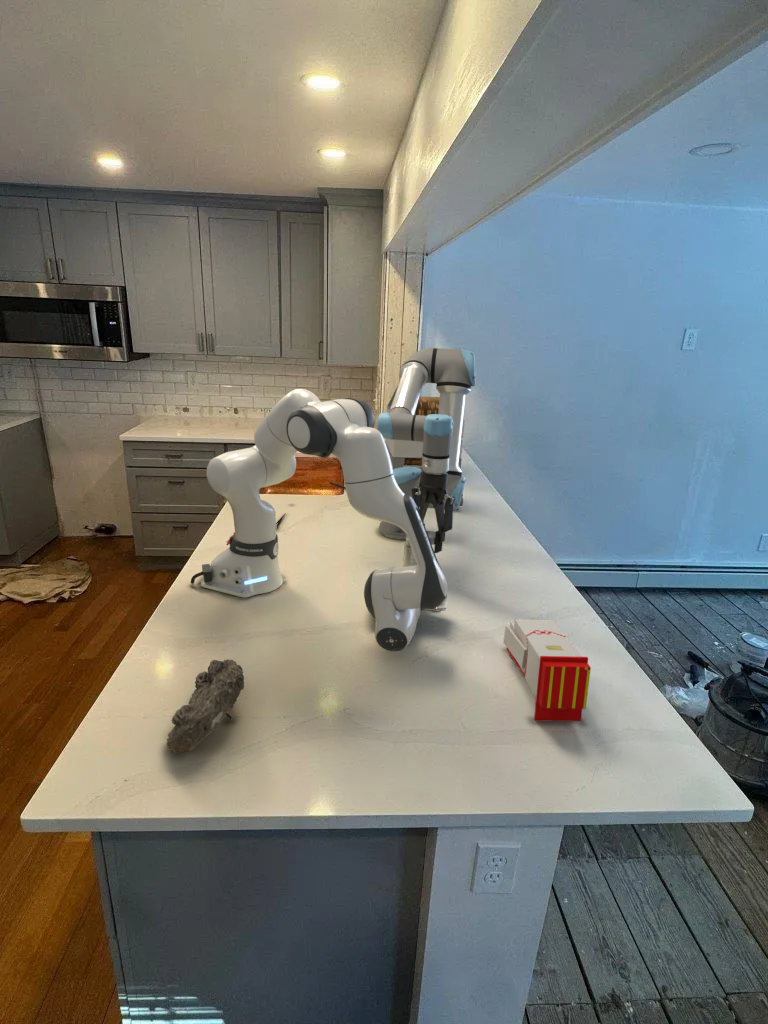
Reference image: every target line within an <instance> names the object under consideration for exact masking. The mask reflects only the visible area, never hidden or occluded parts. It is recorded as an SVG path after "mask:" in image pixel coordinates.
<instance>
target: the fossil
mask: <svg viewBox="0 0 768 1024" xmlns="http://www.w3.org/2000/svg"><path fill="white" fill-rule="evenodd" d="M243 670H244V669H243V667H242V665H240V664H237V662H236V661H235V660H234V659H232V658H231V659H227V658H226V659H224V660H223V661H222V660H217V659H212V660H211V661H210V663H209V665H208V666H207V671H201V672H199V673H198V674H197V675H196V676H195V680H194V684H195V685H194V687H195V689H194V690H193V693H192V694H191V697H190V698H189V700H188V704H184V705H182V706H181V707H180V709H177V710H176V711H175V713H174V715H173V716H172V718H171V723H172V724H173V727H172V730H171V731H170V732H168V734H167V738H166V741H167V742H166V745H167V749H168V750H169V751H173V752H174V753H176V754H178V753H182V752H188V751H189V752H192V751H193V750H195V748H196V747H197V746H199V744H200V743H201V742H203V741H204V740H205V739H206V738H207V737H208V736H209V735H210V734H211V733H212V732H214V730H215V729H217V727H218V726H219V724H220V722H221V721H222V720H223V719H224V718H225V716H226V717H227V719H229V720H233V717H232V715H230V714H229V710H230V709H231V708H234V706H235V704H236V703H237V702H238V699H239V697H240V695H241V693H242V691H243V690H245V689H244V688H245V675H244V671H243Z"/></svg>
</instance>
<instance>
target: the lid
mask: <svg viewBox="0 0 768 1024" xmlns="http://www.w3.org/2000/svg"><path fill="white" fill-rule="evenodd" d="M427 533H428V536H429V539H430V542H431V544H432V546H435V536H436V531H435V530H427Z"/></svg>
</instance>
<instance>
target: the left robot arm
mask: <svg viewBox="0 0 768 1024" xmlns="http://www.w3.org/2000/svg"><path fill="white" fill-rule="evenodd" d="M375 420H376V419H375V414H374V412H373V409H372V408H371V406H370V405H369V403H368V402H366V401H364V400H363V399H361V398H355V397H343V398H340V399H339V398H338V399H337V398H336V399H335V398H334V399H328V400H325V401H321V400H320V398H319V397H318V396H317V395H316V394H315V393H314V392H313V391H311V390H309V389H305V388H295V389H292V390H290V391H289V392H288V393H286V394H285V395H284V396H282V398H280V399H279V400H278V402H276V403H275V405H274V406H273V407H271V409H270V410H269V412H268V413H267V414H266V416H265V417H264V418H263V420H262V421H261V422H260V423H259V425H258V426H257V427H256V429H255V431H254V434H253V438H254V445H253V446H249V447H246V448H241V449H236V450H230V451H226V452H224V453H221V454H219V455H217V456H215V457H212V458H211V459H210V460H209V462H208V464H207V466H206V479H207V483H208V484H209V486H210V488H211V489H212V490H213V491H214V492H215V493H217V494H218V495H220V496H222V497H223V498H224V499H225V500H226V501H227V502H228V504H229V506H230V509H231V511H232V517H233V525H234V526H233V527H234V532H233V534H231V536H229V539H228V540H227V541H226V546H229V547H228V548H226V549H225V550H223V551H222V552H220V553H219V554H218V555H217V556H215V557H214V558H213V559H212V560H211V563H204V564H201V571H200V572H197V573H195V574H194V575H193V576H191V580H190V584H191V585H194V584H195V580H196V579H197V578H198V577H201V576H202V578H201V581H200V586H201V587H202V588H205V589H209V590H212V591H216V592H221V593H224V594H227V595H232V596H236V597H239V598H243V599H245V598H246V599H247V598H249V597H253V596H256V595H260V594H261V595H262V594H266V593H270V592H272V591H276V590H277V589H278V588H280V587H281V586H282V585H283V583H284V579H283V576H282V573H281V568H280V565H279V564H280V563H279V559H278V558H279V557H278V555H279V537H278V534H277V530H276V529H277V524H276V523H277V517H276V516H277V514H276V513H277V512H276V509H275V508H274V506H273V505H272V504H271V503H269V502H268V501H266V500H264V499H261V495H260V489H263V488H267V487H271V486H275V485H278V484H280V483H283V482H285V481H287V480H289V479H290V478H292V477H293V476H294V474H295V472H296V469H297V459H296V458H297V457H296V456H295V455H296V453H297V452H299V453H301V454H304V455H308V456H316V457H319V458H321V459H327V458H329V457H330V456H331V455H333V456H335V457H336V458H337V460H338V461H339V463H340V467H341V470H342V477H343V482H344V487H345V488H346V489H345V492H346V496H347V499H348V501H349V502H348V503H349V504H350V505H351V507H352V508H353V509H354V510H355V511H356V512H357V513H359V514H360V515H362V516H364V517H366V518H369V519H372V520H377V521H379V522H382V521H384V522H388V523H391V524H394V525H396V526H398V527H399V528H401V529H402V530H403V531H404V532H405V533H406V535H407V537H408V540H409V542H410V545H411V548H412V551H413V553H414V556H415V559H416V562H417V565H415V566H407V567H403V566H400V567H399V566H398V567H385V568H378V569H373V571H372V572H371V573H369V575H368V577H367V578H366V581H365V584H364V587H363V588H364V589H363V597H364V598H363V599H364V603H365V606H366V609H367V611H368V613H369V614H370V616H371V617H372V618H373V619H374V620H375V628H374V629H375V631H374V637H375V641H376V643H377V645H378V646H379V647H380V648H382V649H383V650H385V651H388V652H400V651H402V650H404V649H406V648H407V647H408V646H409V645H410V643H411V641H412V639H413V638H414V635H415V632H416V629H417V626H418V625H417V623H418V621H419V618H420V615H421V612H427V613H434V614H436V613H438V614H439V613H441V612H445V611H446V610H447V607H448V606H447V602H448V582H447V578H446V576H445V574H444V572H443V569H442V567H441V565H440V562H439V561H438V558H437V556H436V553H434V547H433V545H432V544H431V542H430V539H429V536H428V533H427V531H428V530H427V528H426V524H425V521H424V522H423V520H422V517H421V515H420V512H419V510H418V507H417V505H416V503H415V501H414V500H413V498H412V497H411V496H408V495H406V494H404V493H403V492H402V490H401V489H400V488H399V486H398V484H397V482H396V480H395V477H394V472H393V467H392V462H391V458H390V455H389V452H388V449H387V446H386V443H385V442H386V441H385V438H383V436H382V434H381V433H380V432H379V431H378V430H377V428H375ZM424 524H425V525H424Z"/></svg>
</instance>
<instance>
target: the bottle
mask: <svg viewBox="0 0 768 1024" xmlns="http://www.w3.org/2000/svg"><path fill="white" fill-rule="evenodd" d="M415 565H417V562H416V559H415V556H414V553H413V551H412V548H411V545H410V542H409V540H408V537H406V540H405V542H404V545H403V561H402V567H407V566H415Z"/></svg>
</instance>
